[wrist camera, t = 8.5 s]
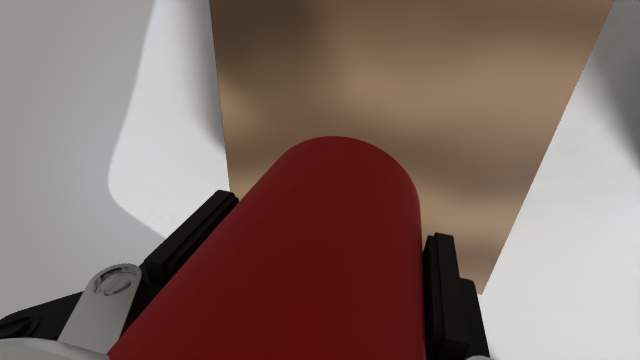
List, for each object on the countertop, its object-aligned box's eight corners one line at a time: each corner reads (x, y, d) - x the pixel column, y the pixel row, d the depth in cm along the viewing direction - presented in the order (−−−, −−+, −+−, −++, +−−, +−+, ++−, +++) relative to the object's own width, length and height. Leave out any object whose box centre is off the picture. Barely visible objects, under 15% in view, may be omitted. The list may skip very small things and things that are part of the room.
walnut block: (263, -33, 22) (204, -45, 16) (559, -20, 18) (627, -29, 12) (270, 191, 31) (235, 237, 25) (468, 230, 27) (481, 294, 21)
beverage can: (265, 232, 16) (26, 600, 6) (281, 108, 13) (-197, 486, 3) (393, 275, 16) (352, 776, 6) (446, 154, 12) (608, 924, 2)
